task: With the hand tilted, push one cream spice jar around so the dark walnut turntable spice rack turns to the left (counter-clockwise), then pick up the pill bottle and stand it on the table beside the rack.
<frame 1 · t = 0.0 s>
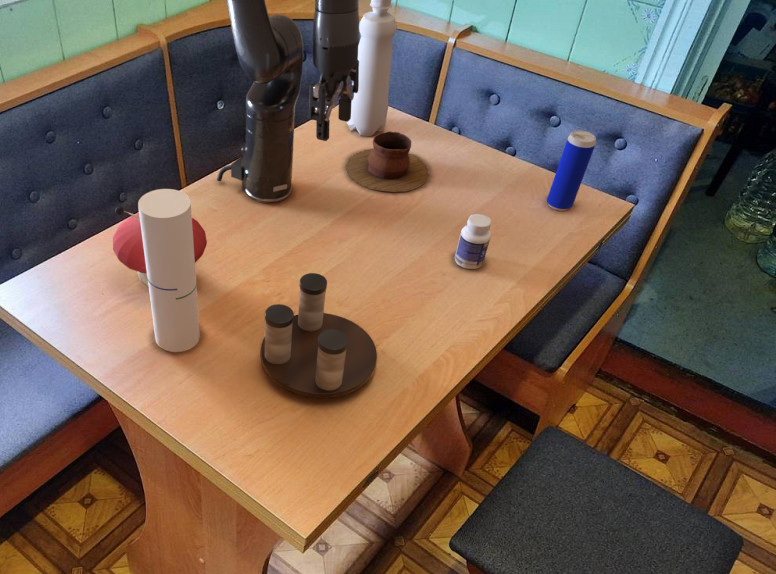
hand: (333, 129, 131), 17 cm above the table, tool pointing down, fingers open, 8 cm apart
cylindrical container: (177, 337, 117), on the table
beverage can: (558, 205, 147), on the table
spice rack: (320, 332, 110), point 6 cm above the table, hinge at 0.0°
pill bottle: (468, 261, 134), on the table
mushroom: (163, 278, 128), on the table
ceramic pot: (387, 171, 155), on the table
bottle: (365, 129, 168), on the table
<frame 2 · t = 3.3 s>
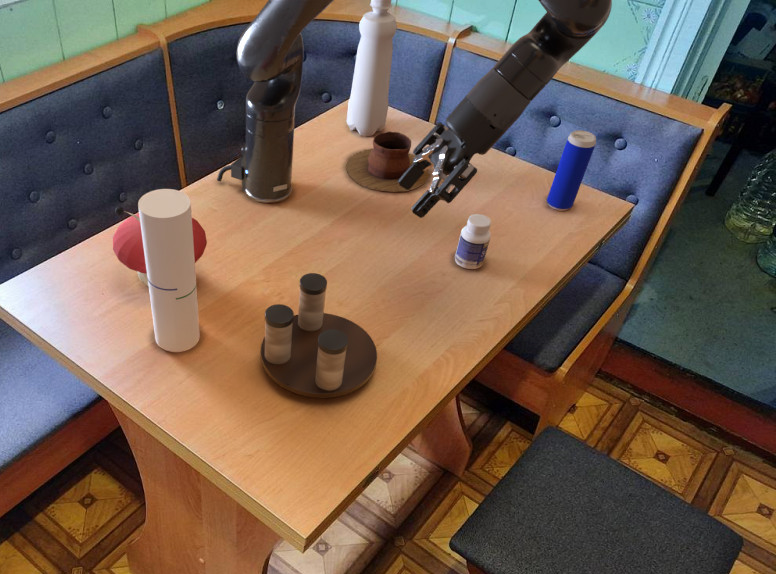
hand: (409, 199, 109), 21 cm above the table, tool tilted 35°, fingers open, 8 cm apart
nothing on the table moved.
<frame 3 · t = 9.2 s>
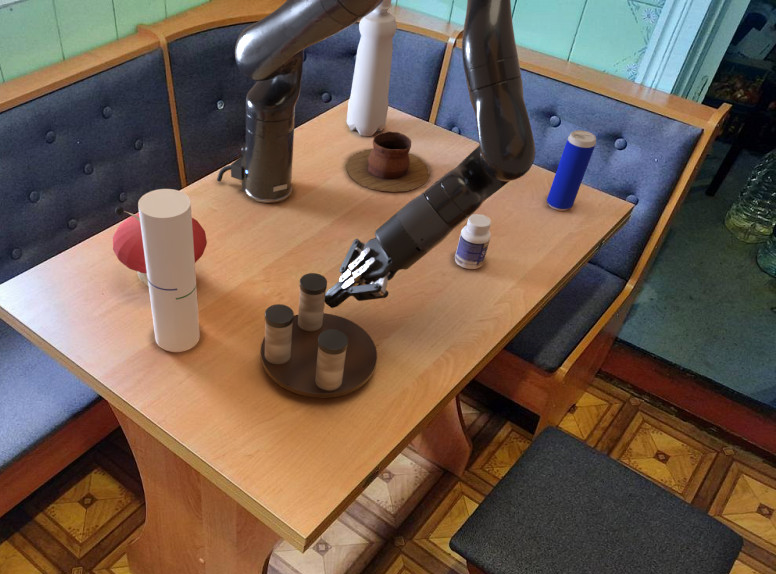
hand: (327, 302, 114), 6 cm above the table, tool tilted 45°, fingers closed
spice rack: (320, 332, 110), point 6 cm above the table, hinge at 0.0°, touching gripper
everything else where it was.
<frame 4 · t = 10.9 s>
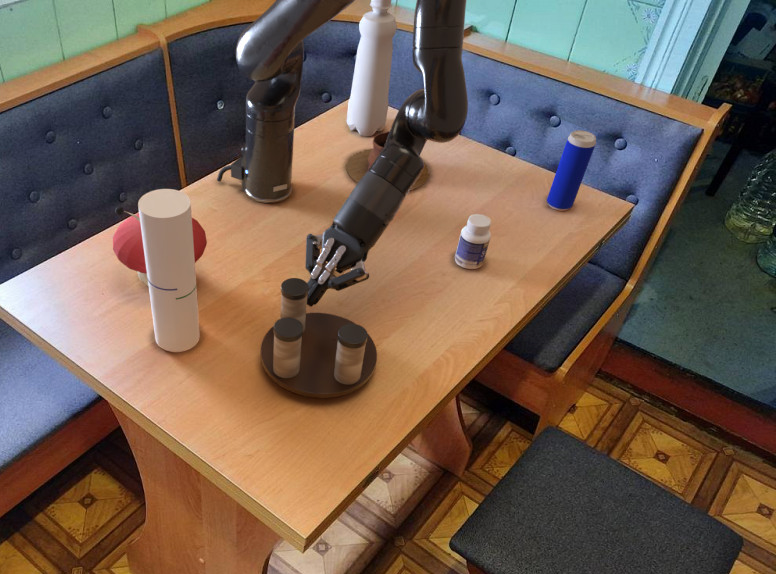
hand: (305, 303, 114), 6 cm above the table, tool tilted 45°, fingers closed
spice rack: (320, 332, 110), point 6 cm above the table, hinge at 28.0°, touching gripper
everything else where it was.
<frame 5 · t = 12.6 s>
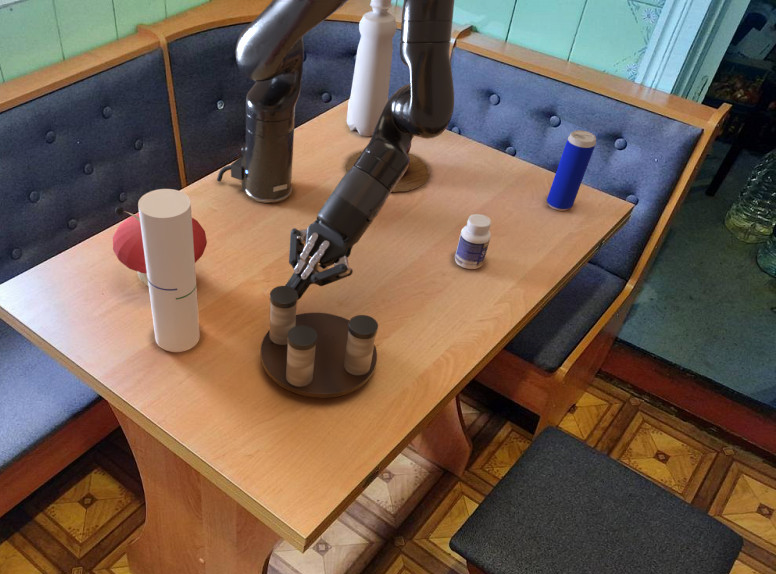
hand: (288, 298, 113), 7 cm above the table, tool tilted 45°, fingers closed
spice rack: (320, 332, 110), point 6 cm above the table, hinge at 50.6°
everything else where it was.
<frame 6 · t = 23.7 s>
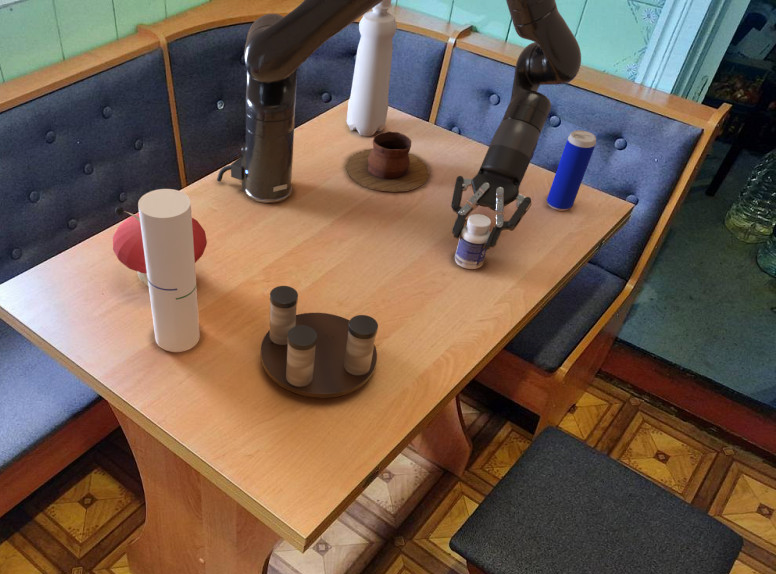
hand: (471, 242, 129), 5 cm above the table, tool tilted 45°, fingers closed on pill bottle, 5 cm apart
pill bottle: (468, 261, 134), on the table, touching gripper
everything else where it was.
when the fingers open (5 cm above the table, at t = 33.3 s): pill bottle stays where it is, on the table.
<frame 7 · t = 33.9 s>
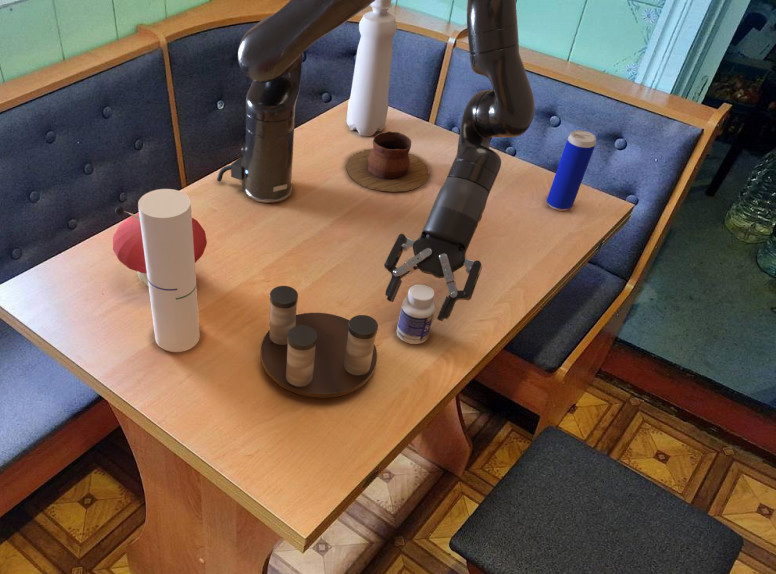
hand: (414, 310, 114), 6 cm above the table, tool tilted 45°, fingers open, 8 cm apart
pill bottle: (412, 334, 119), on the table
everything else where it was.
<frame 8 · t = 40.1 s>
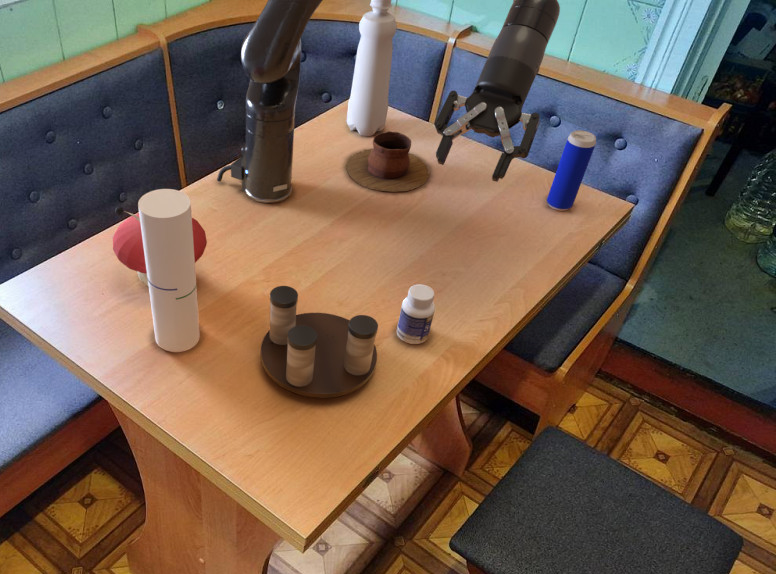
hand: (467, 171, 108), 25 cm above the table, tool tilted 45°, fingers open, 8 cm apart
nothing on the table moved.
at the end: spice rack at +51° (first picture: +0°); pill bottle inside the target area on the table beside the spice rack (0.1 cm from its centre), on the table; pill bottle tilted 0° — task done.
